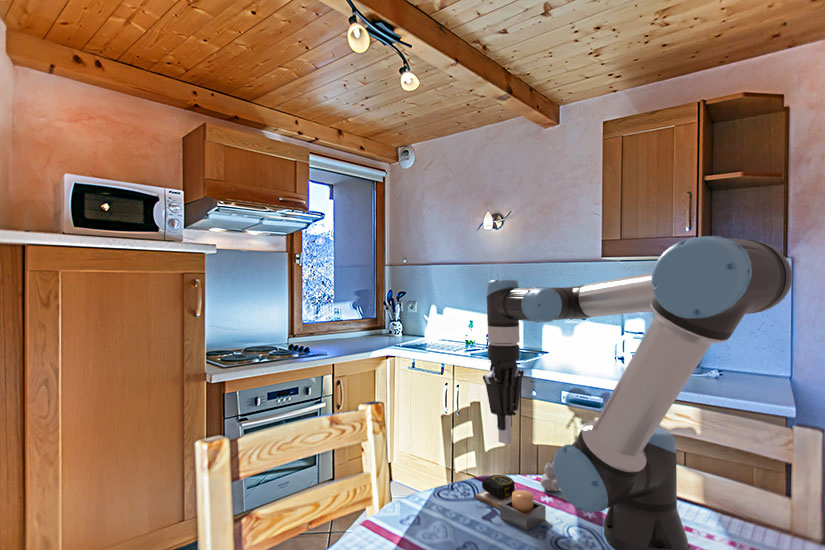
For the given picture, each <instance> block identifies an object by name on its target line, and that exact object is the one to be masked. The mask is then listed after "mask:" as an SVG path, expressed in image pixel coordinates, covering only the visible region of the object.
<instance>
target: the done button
mask: <svg viewBox="0 0 825 550" xmlns="http://www.w3.org/2000/svg"><path fill="white" fill-rule="evenodd" d="M533 501H534V494H533V493H532V492H530V491H528V490H525V489H523V490H522V489H517V490H514V492H513V493H512V508H514V509H516V510H518V511H521V512H523V513H525V514H526V513H528V512H530V511H532V510H533Z"/></svg>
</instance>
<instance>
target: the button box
mask: <svg viewBox="0 0 825 550" xmlns="http://www.w3.org/2000/svg"><path fill="white" fill-rule="evenodd" d="M499 511H500V512H499V517H500V519H502V520H503V521H505V522H507V523H510V524H512V525H514V526H516V527H518V528H520V529H522V530H524V531H529V530H530V529H532V528H534V527H535V526H537V525H539V524H541V523H543V522H544V521H546V511H547V510H546V505H544V504H542V503H539V502H537V501H534V500H533V510H532V511H530V512H528V513H526V514H525V513H523V512H521V511H518V510H516V509H514V508H512V499H510V500H508V501H506V502H504V503H502V504H500V509H499Z"/></svg>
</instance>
